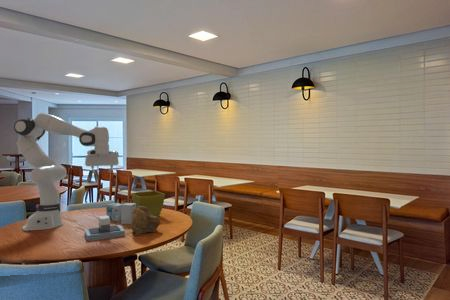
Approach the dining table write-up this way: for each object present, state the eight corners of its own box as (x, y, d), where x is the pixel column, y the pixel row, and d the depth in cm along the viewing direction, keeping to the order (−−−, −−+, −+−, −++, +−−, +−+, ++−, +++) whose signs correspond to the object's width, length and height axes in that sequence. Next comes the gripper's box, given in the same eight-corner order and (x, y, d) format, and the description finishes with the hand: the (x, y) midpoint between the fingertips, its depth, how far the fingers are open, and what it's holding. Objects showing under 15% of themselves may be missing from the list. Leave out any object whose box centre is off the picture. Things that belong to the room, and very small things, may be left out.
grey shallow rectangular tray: (87, 241, 177) (87, 234, 177) (84, 234, 190) (84, 228, 190) (124, 235, 187) (124, 229, 187) (119, 229, 199) (119, 224, 199)
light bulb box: (106, 219, 225) (105, 204, 225) (112, 217, 231) (112, 202, 231) (118, 221, 221) (118, 205, 221) (125, 219, 227) (124, 203, 227)
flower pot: (165, 217, 232) (165, 193, 231) (139, 221, 221) (139, 196, 221) (155, 212, 248) (155, 190, 247) (130, 215, 237) (130, 192, 236)
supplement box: (131, 224, 213) (131, 205, 212) (121, 223, 214) (120, 204, 214) (136, 221, 220) (136, 203, 219) (126, 221, 221) (126, 202, 221)
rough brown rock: (157, 238, 185) (159, 211, 185) (127, 236, 183) (129, 210, 184) (160, 228, 208) (162, 205, 209) (134, 227, 207) (136, 203, 207)
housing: (100, 231, 184) (100, 219, 183) (98, 228, 191) (98, 216, 190) (110, 230, 186) (109, 218, 186) (107, 227, 193) (107, 215, 193)
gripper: (117, 150, 218) (117, 171, 218) (84, 151, 208) (84, 173, 208) (119, 151, 213) (119, 172, 213) (85, 151, 203) (86, 173, 203)
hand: (102, 172), depth 211 cm, fingers open, 8 cm apart
